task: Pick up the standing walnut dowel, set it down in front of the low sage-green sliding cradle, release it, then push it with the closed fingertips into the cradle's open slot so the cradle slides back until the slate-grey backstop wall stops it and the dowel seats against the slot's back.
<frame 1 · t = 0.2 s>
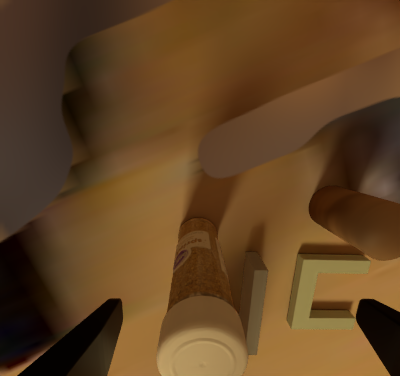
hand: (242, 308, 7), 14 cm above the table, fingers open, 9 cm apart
cradle: (326, 292, 23), point 1 cm above the table, slide at 0.0 cm
dowel: (329, 205, 22), on the table
backstop wall: (247, 290, 24), on the table
sprinkles bottle: (197, 234, 22), on the table
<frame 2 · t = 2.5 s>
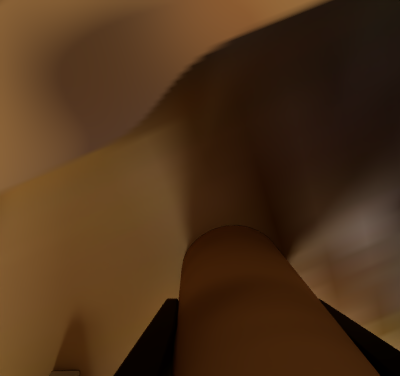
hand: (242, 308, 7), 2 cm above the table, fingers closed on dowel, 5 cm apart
dowel: (231, 272, 9), on the table, touching gripper
when the fingers open (3 cm above the table, at t = 6.1 s): dowel stays where it is, on the table.
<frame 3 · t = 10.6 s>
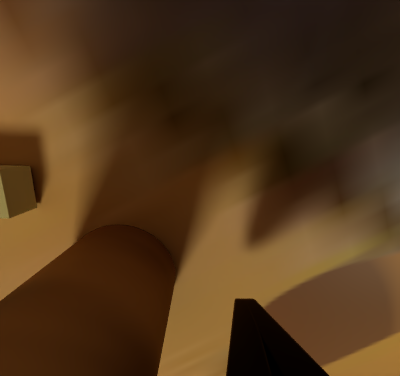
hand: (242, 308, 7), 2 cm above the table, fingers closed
dowel: (122, 274, 9), on the table, touching gripper
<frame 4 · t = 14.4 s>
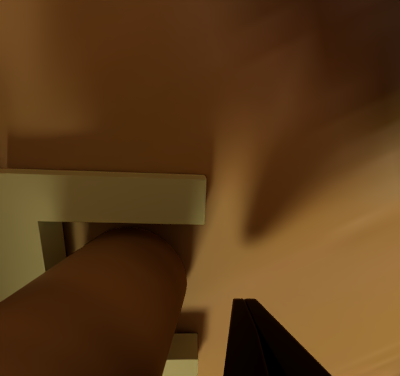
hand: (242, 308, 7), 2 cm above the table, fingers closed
cradle: (107, 286, 8), point 1 cm above the table, slide at 4.2 cm
dowel: (133, 277, 8), on the table, tilted 10°, touching gripper
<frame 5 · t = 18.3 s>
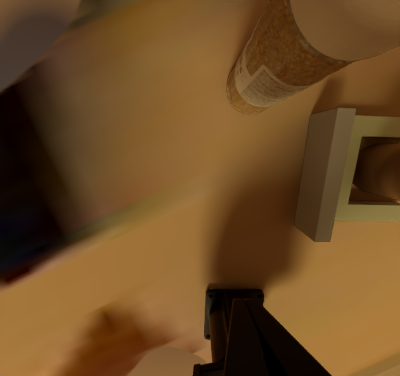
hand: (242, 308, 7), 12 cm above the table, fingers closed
cradle: (369, 171, 18), point 1 cm above the table, slide at 4.2 cm
dowel: (373, 168, 19), on the table
backstop wall: (308, 173, 19), on the table
sprinkles bottle: (249, 89, 17), on the table
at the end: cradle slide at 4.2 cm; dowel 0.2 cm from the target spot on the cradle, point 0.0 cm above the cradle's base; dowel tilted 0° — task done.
